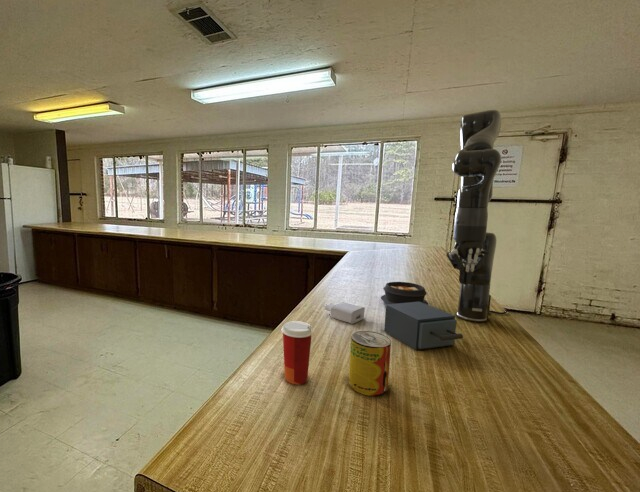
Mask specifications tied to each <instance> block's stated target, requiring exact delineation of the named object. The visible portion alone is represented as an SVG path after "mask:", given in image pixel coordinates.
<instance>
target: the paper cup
mask: <svg viewBox="0 0 640 492" xmlns="http://www.w3.org/2000/svg"><path fill="white" fill-rule="evenodd" d="M280 331H281V332H282V341H283V342H282V344H283V347H282V348H283V365H284V366H283V369H284V379H285V381H286V382H287V383H289V384H292V385H297V386H298V385H299V386H300V385H304V384H306V383H307V382H308V376H309V365H310V357H311V355H310V354H311V348H312V347H311V346H312V335H313V334H314V331H313V329H312V325H310V323H307V322H305V321H300V320H291V321H287V322H285V323H284V324H283V325H282V327H281V328H280Z"/></svg>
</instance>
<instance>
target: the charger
mask: <svg viewBox="0 0 640 492" xmlns="http://www.w3.org/2000/svg"><path fill="white" fill-rule="evenodd" d="M322 307H324V310H326V311H328V312H329V315H330V317H331V318H333V319H336V320H339V321H342V322H344V323H345V322H346V323H349V324H352V325H353V324H356V323H357V322H360V321H362V320H363V319H365V312H366V311H365V310H366V309H365V307H363V306H360V305H356V304H352V303H350V302H349V303H348V302H345V301H341V302H338V303H336V304H333V303H328V304H324V305H322Z"/></svg>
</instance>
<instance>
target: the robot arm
mask: <svg viewBox="0 0 640 492" xmlns="http://www.w3.org/2000/svg"><path fill="white" fill-rule="evenodd" d="M459 123H460V124H459V137H460V150H459V151H458V152H457V153H456V155H455V156H454V158H453V161H452V171H453V173H454V174H455V175H456V176H458V177H460V187H459V189H458V192H457V201H456V202H457V203H456V210H455V215H454V225H453V235H452V238H453V240H454V241H455V244H454V245H453V249H452V250H451V251H447V252H446V254H445V255H446V257H447V259H448V260H449V262H450V264H451V266H452V267H453V269H456V270H458V271H459V274H458V282H459V293H458V303H457V312H456V316H457V317H458V318H459V319H462V320H465V321H468V322H473V323H486V322H487V321H488V320H489V316H490V313H492V314H496V315H506V314H507V312H508V311H509V310H508V309H507V308H504V311H501V312H500V311H496V310H495V311H494V310H491V296H492V295H491V294H490V290H491V282H492V272H493V266H494V260H495V255H496V254H495V253H496V249H497V236H496V234H495V233H494V232H488V231H487V229H488V219H489V217H488V216H489V212H488V210H489V208H488V207H489V203H490V201H491V200H492V198H493V194H494V193H493V189H494V187H493V186H494V178H495V177H496V175H497V172H498V170H499V168H500V165H501V162H502V155H501V153H500V151H499V150H497V149H495V148H494V147H495V146H494V145H495V142H496V140H497V139H498V137H499V135H500V133H501V128H502V115H501V112H500V111H499V110H497V109H488V110H483V111H478V112H477V111H476V112H472V113H471V112H470V113H468V114H467V113H466V114H464V115H463V116H462V117H461V119H460V122H459ZM505 311H506V312H505Z"/></svg>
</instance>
